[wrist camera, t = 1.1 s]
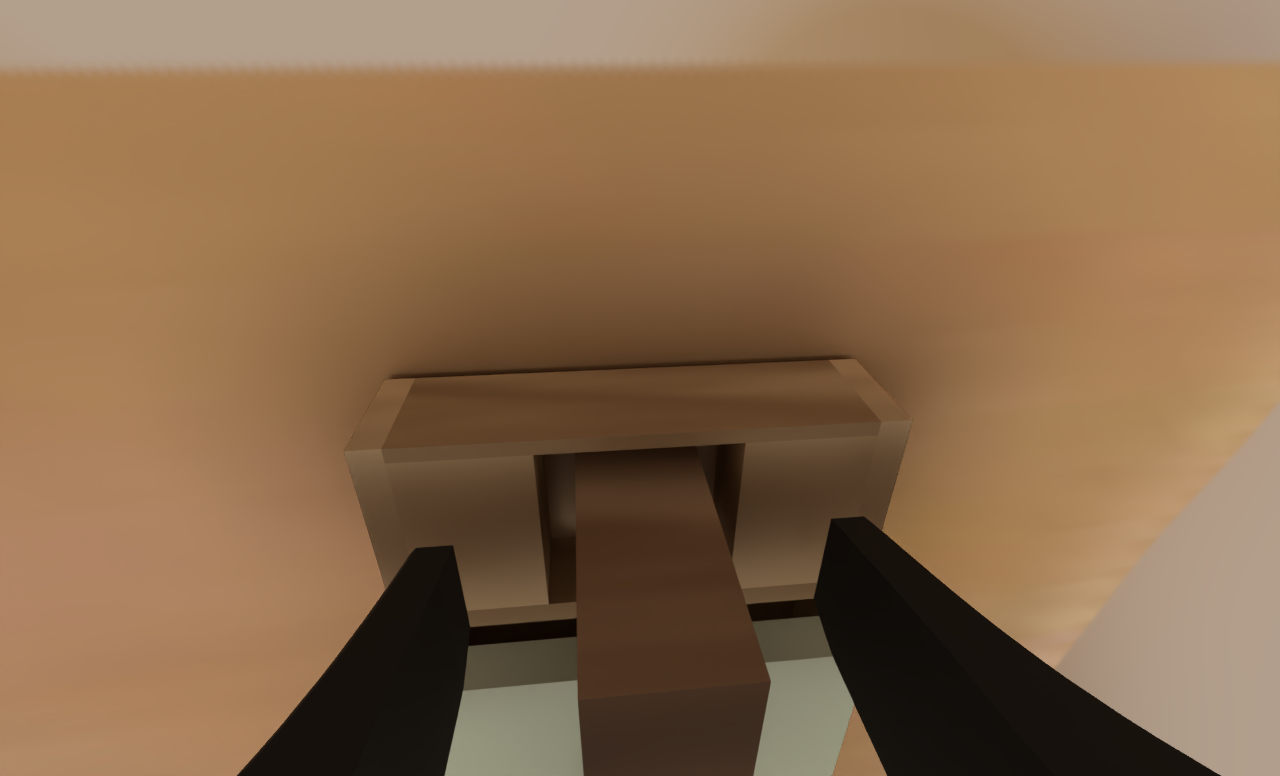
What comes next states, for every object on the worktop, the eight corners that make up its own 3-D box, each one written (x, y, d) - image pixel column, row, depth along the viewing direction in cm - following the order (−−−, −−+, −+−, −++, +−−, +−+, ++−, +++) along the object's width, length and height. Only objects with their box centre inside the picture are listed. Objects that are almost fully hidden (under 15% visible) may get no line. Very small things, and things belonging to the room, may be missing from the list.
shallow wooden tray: (760, 810, 22) (780, 890, 20) (496, 841, 22) (488, 928, 19) (855, 358, 13) (913, 420, 11) (385, 379, 12) (344, 450, 10)
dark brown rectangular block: (682, 507, 14) (751, 783, 8) (580, 513, 13) (585, 802, 8) (687, 420, 12) (771, 681, 7) (574, 426, 12) (577, 700, 7)
